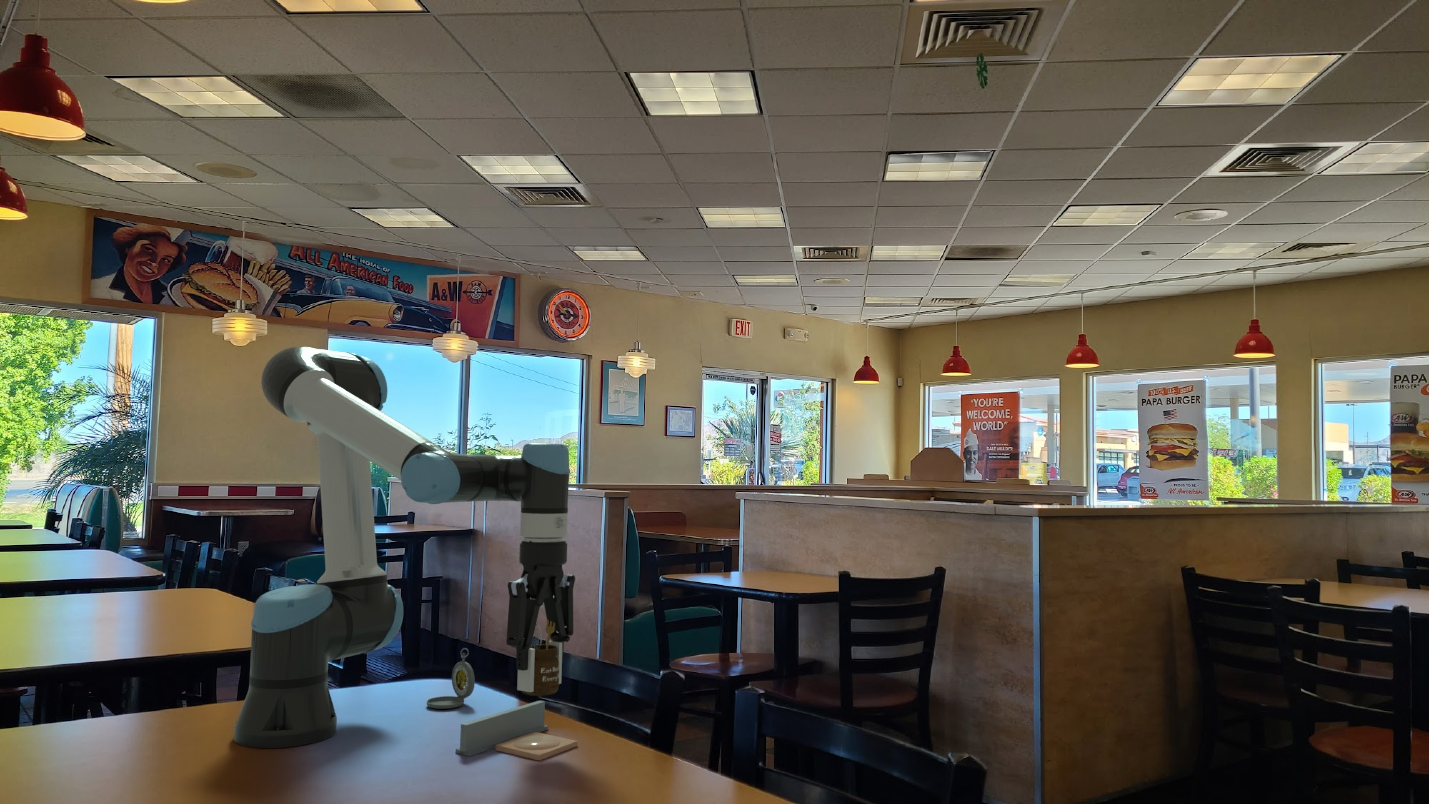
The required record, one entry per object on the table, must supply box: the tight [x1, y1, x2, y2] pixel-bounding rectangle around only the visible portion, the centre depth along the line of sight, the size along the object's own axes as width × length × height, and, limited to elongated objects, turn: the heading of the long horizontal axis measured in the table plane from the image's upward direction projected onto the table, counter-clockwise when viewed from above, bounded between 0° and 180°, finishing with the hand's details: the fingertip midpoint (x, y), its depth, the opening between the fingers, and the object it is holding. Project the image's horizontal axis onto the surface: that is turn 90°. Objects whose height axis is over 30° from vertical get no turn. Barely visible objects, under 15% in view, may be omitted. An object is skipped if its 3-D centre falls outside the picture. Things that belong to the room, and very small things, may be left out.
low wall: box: [455, 700, 549, 757], centre depth 153 cm, size 3×18×4 cm, turn 149°
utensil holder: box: [521, 619, 560, 697], centre depth 150 cm, size 6×6×12 cm
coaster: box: [495, 732, 578, 761], centre depth 149 cm, size 9×9×1 cm
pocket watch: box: [426, 647, 476, 710], centre depth 174 cm, size 8×8×10 cm
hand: (539, 686), depth 149 cm, fingers closed on utensil holder, 6 cm apart
